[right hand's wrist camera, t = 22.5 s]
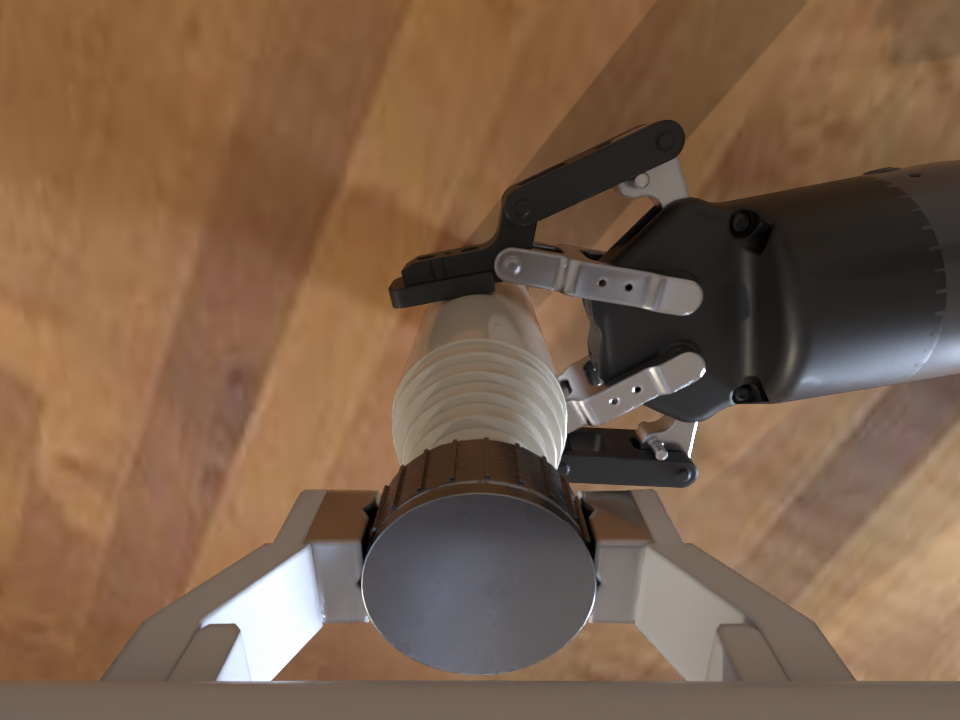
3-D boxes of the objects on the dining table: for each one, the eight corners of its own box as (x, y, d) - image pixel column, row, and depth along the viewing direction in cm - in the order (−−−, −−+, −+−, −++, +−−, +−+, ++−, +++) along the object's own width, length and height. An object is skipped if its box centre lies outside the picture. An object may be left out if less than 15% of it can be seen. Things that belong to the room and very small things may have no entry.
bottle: (460, 365, 27) (430, 686, 11) (412, 284, 26) (290, 514, 9) (545, 322, 26) (653, 600, 10) (500, 236, 25) (540, 395, 8)
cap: (352, 571, 11) (331, 645, 9) (412, 406, 9) (398, 457, 8) (534, 623, 11) (543, 700, 10) (615, 472, 10) (642, 533, 8)
